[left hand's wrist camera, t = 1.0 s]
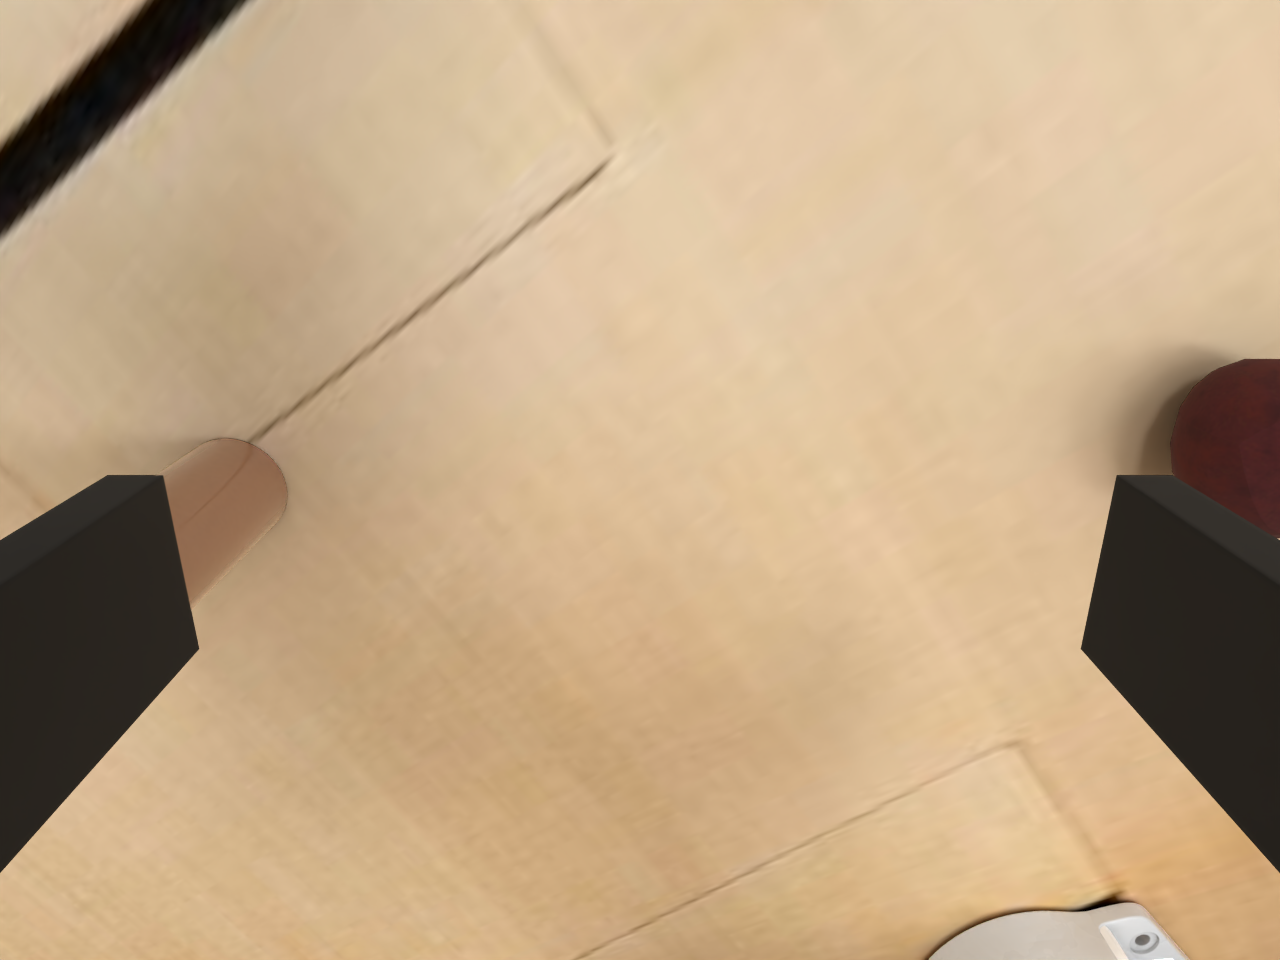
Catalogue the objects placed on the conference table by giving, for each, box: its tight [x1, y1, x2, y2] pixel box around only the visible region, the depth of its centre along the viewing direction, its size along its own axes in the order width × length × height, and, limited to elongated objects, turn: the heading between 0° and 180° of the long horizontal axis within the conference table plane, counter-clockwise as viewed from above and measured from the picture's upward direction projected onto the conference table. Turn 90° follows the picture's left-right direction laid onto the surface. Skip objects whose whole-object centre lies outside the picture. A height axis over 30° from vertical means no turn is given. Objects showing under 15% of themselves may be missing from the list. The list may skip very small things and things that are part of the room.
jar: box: [156, 439, 287, 610], centre depth 34 cm, size 5×5×16 cm
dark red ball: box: [1170, 359, 1280, 538], centre depth 37 cm, size 7×8×7 cm
